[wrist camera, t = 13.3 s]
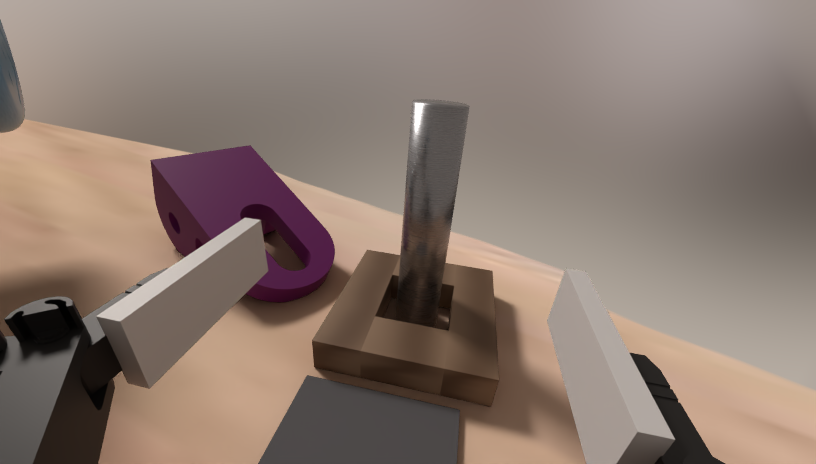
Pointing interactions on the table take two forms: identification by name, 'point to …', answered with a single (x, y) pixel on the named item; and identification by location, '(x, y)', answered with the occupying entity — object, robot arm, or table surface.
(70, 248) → the table surface
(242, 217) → the mounting bracket
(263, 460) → the mat
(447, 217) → the peg
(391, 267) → the collar
